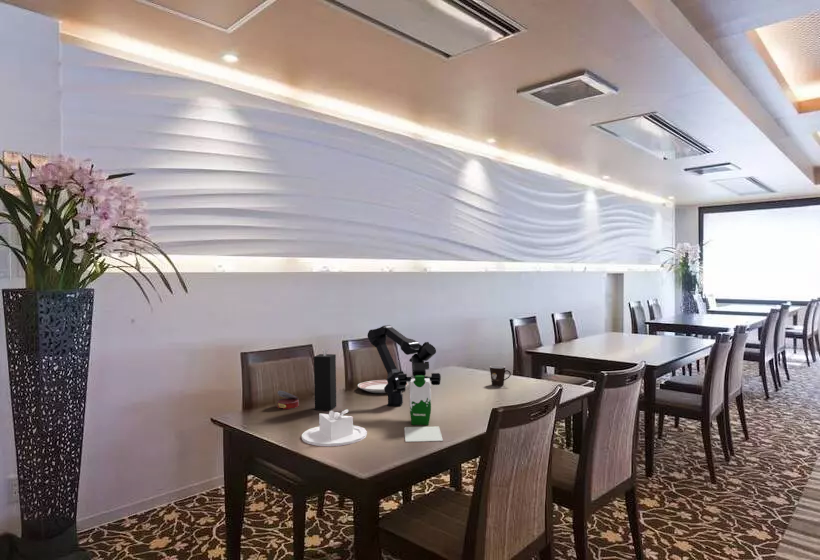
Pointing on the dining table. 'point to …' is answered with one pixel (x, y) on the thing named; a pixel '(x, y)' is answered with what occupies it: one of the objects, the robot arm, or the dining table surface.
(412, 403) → the milk carton
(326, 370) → the tall black box
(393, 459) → the dining table surface
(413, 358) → the robot arm
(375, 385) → the dinner plate
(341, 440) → the dish
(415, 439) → the placemat
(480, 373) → the dining table surface
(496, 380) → the coffee mug
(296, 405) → the canned food
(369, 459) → the dining table surface
